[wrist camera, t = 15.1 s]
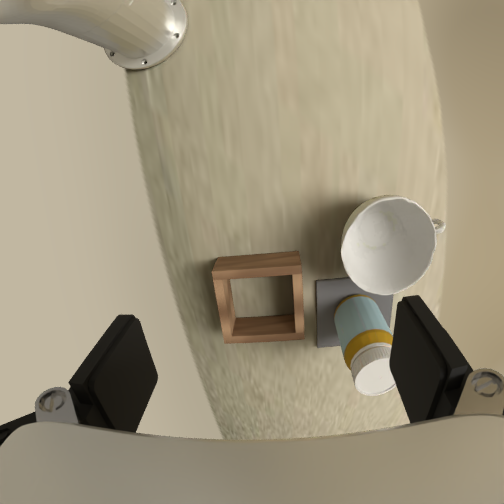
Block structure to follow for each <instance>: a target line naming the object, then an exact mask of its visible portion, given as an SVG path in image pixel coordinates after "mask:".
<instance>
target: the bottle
mask: <svg viewBox="0 0 504 504" xmlns="http://www.w3.org/2000/svg"><path fill="white" fill-rule="evenodd" d="M334 322H335V326H336V330H337V333H338V337H339V341H340V345H341V348H342V352H343V356H344V360H345V363H346V365H347V367H348V368H349V369H350V370H351V372H352V377H353V381H354V385H355V387H356V389H357V390H358V391H359V392H360V393H362V394H364V395H368V396H375V395H381V394H384V393H386V392H388V391H390V390H392V389H393V388H394V387H395V386H396V383H395V381H394V378H393V376H392V373H391V371H390V367H389V359H390V353H391V347H392V341H393V335H392V333H391V331H390V329H389V327H388V325H387V323H386V321H385V319H384V317H383V315H382V313H381V311H380V309H379V307H378V306H377V304H376V302H375V301H374V300H373V299H372V298H371V297H369V296H366V295H361V294H358V295H353V296H350V297H348V298H346V299H344V300H343V301H342V302H341V303H340V304H339V305H338V306H337V308H336V310H335V313H334Z"/></svg>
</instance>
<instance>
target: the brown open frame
mask: <svg viewBox="0 0 504 504" xmlns="http://www.w3.org/2000/svg"><path fill="white" fill-rule="evenodd" d="M281 275H292V286H293V302H294V314H292V315H278V316H262V317H244V318H236V317H235V311H234V304H233V298H232V291H231V285H230V279H239V278H253V277H267V276H281ZM212 277H213V282H214V288H215V294H216V299H217V305H218V310H219V316H220V321H221V327H222V332H223V337H224V342H225V344H226V343H252V342H271V341H287V340H301V339H305V337H304V309H303V286H302V266H301V260H300V255H299V251H293V252H280V253H267V254H254V255H241V256H228V257H218V258H217V261H216V263H215V265H214V268H213V270H212Z"/></svg>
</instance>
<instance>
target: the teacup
mask: <svg viewBox="0 0 504 504" xmlns="http://www.w3.org/2000/svg"><path fill="white" fill-rule="evenodd" d="M434 224H438V225H439V226H437V227H434ZM445 228H446V225H445V223H444V222H443V221H441V220H438V219H431V218H430V216H429V215H428V213H427V212H426V211H425V210H424V209H423V208H422V207H421V206H420V205H419V204H417V203H416V202H415V201H412V200H410V199H408V198H405V197H401V196H396V195H384V196H379V197H375V198H372V199H370V200H368V201H366V202H364V203H363V204H361V205H360V206H359V207H357V208H356V209H355V211H354V212H353V213H352V214H351V215H350V217H349V219H348V221H347V222H346V224H345V227H344V230H343V234H342V241H341V258H342V262H343V266H344V269H345V271H346V273H347V275H348V276H349V277H350V279H351V280H352V281H353V282H354V283H355V284H356V285H357V286H358V287H359V288H361V289H363V290H364V291H366V292H369V293H373V294H379V295H391V294H395V293H399V292H401V291H403V290H406V289H407V288H409V287H410V286H412V285H414V284H415V283H416V282H417V281H418V280H419V279H420V278H421V277H423V276H424V275H425V273H426V271H427V269H428V268H429V266H430V264H431V262H432V260H433V253H434V251H435V249H436V243H437V238H436V234H439V233H442V232H443V231H444V230H445Z"/></svg>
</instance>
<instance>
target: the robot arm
mask: <svg viewBox="0 0 504 504" xmlns="http://www.w3.org/2000/svg"><path fill="white" fill-rule="evenodd" d="M174 4H176V5H174ZM0 24H35V25H40V26H44V27H48V28H52V29H55V30H58V31H61V32H64V33H66V34H69V35H72V36H75V37H77V38H80V39H83V40H85V41H88V42H91V43H93V44H96V45H98V46H101V47H103V48H104V50H105V52H106V54H107V56H108V57H109V59H110V60H111V61H112V62H114V63H115V64H117V65H119V66H120V67H123V68H126V69H132V70H139V69H146V68H150V67H152V66H155V65H157V64H159V63H161V62H163V61H164V60H166V59H167V58H168V57H169V56H171V55H172V54H173V53H174V52H175V50H176V49H177V48H178V47H179V45H180V44H181V42H182V41H183V39H184V36H185V34H186V31H187V26H188V17H187V12H186V10H185V8H184V6H183V4H182V3H181V2H180V0H0ZM177 36H179V38H177ZM114 54H115V55H114ZM146 62H147V64H145V63H146ZM389 367H390V371H391V373H392V376H393V378H394V381H395V383H396V386H397V388H398V391H399V394H400V396H401V399H402V402H403V404H404V407H405V410H406V412H407V415H408V418H409V420H410V424H405V425H400V426H394V427H388V428H382V429H376V430H369V431H363V432H356V433H348V434H340V435H331V436H320V437H308V438H293V439H271V440H218V439H217V440H216V439H197V438H182V437H170V436H159V435H150V434H141V433H136V430H137V428H138V425H139V423H140V420H141V418H142V416H143V414H144V411H145V409H146V407H147V404H148V402H149V399H150V397H151V395H152V392H153V390H154V388H155V385H156V383H157V380H158V374H157V371H156V368H155V365H154V362H153V360H152V357H151V354H150V351H149V348H148V345H147V342H146V339H145V336H144V333H143V330H142V326H141V323H140V321H139V319H137V318H135V316H134V315H118V316H117V317H116V319H115V320H114V321H113V322H112V324H111V325H110V326H109V328H108V329H107V330H106V332H105V333H104V334H103V336H102V337H101V338H100V340H99V341H98V342H97V344H96V345H95V346H94V348H93V349H92V351H91V352H90V353H89V355H88V356H87V357H86V359H85V360H84V361H83V363H82V364H81V366H80V367H79V368H78V370H77V371H76V373H75V374H74V375H73V377H72V378H71V380H70V381H69V384H70V386H71V387H70V389H69V390H67V389H65V388H62V387H54V388H50V389H48V390H46V391H44V392H43V393H42V394H41V395H40V396H39V397H38V398H37V400H36V402H35V412H33V413H31V414H28V415H26V416H23V417H21V418H18V419H16V420H13V421H11V422H8V423H6V424H3V425H1V426H0V504H504V377H503V375H502V374H500V373H499V372H497V371H495V370H492V369H487V368H482V369H477V370H474V371H473V369H472V368H471V366H470V365H469V363H468V362H467V360H466V359H465V357H464V356H463V354H462V353H461V352H460V350H459V349H458V347H457V346H456V344H455V343H454V341H453V340H452V338H451V337H450V336H449V334H448V333H447V331H446V330H445V329H444V328H443V327H442V326H441V324H440V323H439V322H438V320H437V319H436V318H435V316H434V315H433V313H432V312H431V311H430V309H429V308H428V307H427V305H426V304H425V303H424V301H423V300H422V299H421V297H420V296H419V295H415V296H407V297H403V299H402V301H400V302H398V304H397V311H396V319H395V327H394V334H393V341H392V347H391V353H390V359H389Z"/></svg>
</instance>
